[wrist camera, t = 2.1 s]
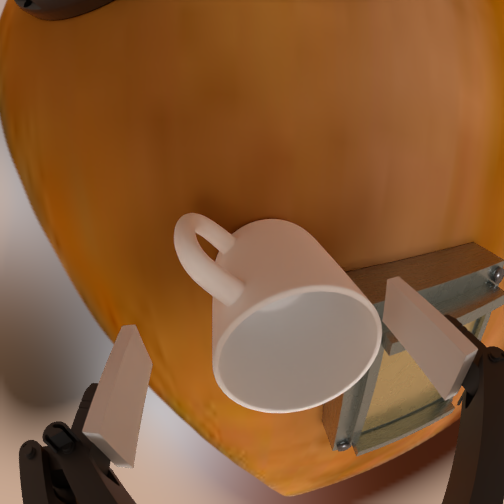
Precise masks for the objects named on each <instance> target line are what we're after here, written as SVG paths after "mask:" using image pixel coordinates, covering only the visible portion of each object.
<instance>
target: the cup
mask: <svg viewBox="0 0 504 504" xmlns="http://www.w3.org/2000/svg"><path fill="white" fill-rule="evenodd" d="M196 233H197V234H199V235H201V236H202V237H204V238H205V239H206V240H207V241H209V242H210V243H211V244H212V245H213V246H214V247H216V248H217V249H218V250H219V252H218V255H217V257H216V260H215V261H213V260H212V259H211V258H210V257H209V256H208V255H207V254H206V253H205V252H204V251H203V249H202V248H201V246H200V245H199V243H198V241H197V238H196ZM174 245H175V250H176V253H177V255H178V258H179V260H180V262H181V264H182V266H183V268H184V269H185V271H186V272H187V273H188V274H189V276H190V277H191V278H192V279H193V280H194V281H195V282H196V283H197V284H198V285H199V286H201V287H202V288H203V289H204V290H205V291H207V292H208V293H209V294H211V295H212V296H213V304H212V363H213V373H214V377H215V379H216V382H217V383H218V385H219V387H220V388H221V390H222V391H223V392H224V393H225V394H226V395H227V396H228V397H229V398H230V399H232V400H233V401H235V402H236V403H238V404H240V405H242V406H244V407H246V408H249V409H252V410H256V411H261V412H267V413H289V412H297V411H302V410H306V409H310V408H313V407H316V406H319V405H321V404H324V403H326V402H328V401H330V400H332V399H334V398H336V397H338V396H339V395H341V394H342V393H344V392H345V391H347V390H348V389H349V388H351V387H352V386H353V385H354V384H355V383H357V382H358V381H359V380H360V379H361V378H362V377H363V375H364V374H365V373H366V372H367V371H368V369H369V368H370V366H371V365H372V363H373V362H374V360H375V358H376V356H377V354H378V351H379V348H380V344H381V339H382V324H381V320H380V317H379V314H378V312H377V310H376V309H375V307H374V306H373V304H372V303H371V302H370V301H369V300H368V298H367V297H366V296H365V295H364V294H363V293H362V291H361V290H360V289H359V288H358V287H357V286H356V284H355V283H354V282H353V281H352V280H351V279H350V277H349V276H348V275H347V274H346V273H345V272H344V271H343V269H342V268H341V267H340V266H339V265H338V264H337V263H336V262H335V260H334V259H333V258H332V257H331V256H330V255H329V254H328V253H327V251H326V250H325V249H324V248H323V247H322V246H321V245H320V244H319V243H318V242H317V240H316V239H315V238H314V237H313V236H312V235H311V234H309V233H308V232H307V231H306V230H305V229H303V228H302V227H300V226H298V225H296V224H294V223H292V222H289V221H285V220H280V219H264V220H258V221H255V222H252V223H249V224H247V225H245V226H243V227H241V228H240V229H238V230H237V231H235V232H234V233H233V234H232V235H231V234H230V233H229V232H227V231H226V230H225V229H224V228H222V227H221V226H220V225H218V224H217V223H215V222H214V221H212V220H211V219H209V218H207V217H205V216H203V215H201V214H197V213H188V214H185V215H183V216H182V217H181V218H180V219H179V220H178V222H177V224H176V226H175V230H174Z"/></svg>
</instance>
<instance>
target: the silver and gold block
mask: <svg viewBox="0 0 504 504" xmlns="http://www.w3.org/2000/svg"><path fill="white" fill-rule="evenodd" d="M503 265H504V260H503V259H501V258H500V257H498V256H496V255H495V254H493V253H492V252H490V251H488V250H486V249H485V248H483V247H481V246H480V245H478V244H476V243H474V242H472V243H468V244H464V245H460V246H457V247H453V248H449V249H445V250H441V251H437V252H433V253H428V254H424V255H420V256H416V257H412V258H407V259H403V260H399V261H394V262H390V263H385V264H381V265H376V266H372V267H367V268H362V269H358V270H353V271H348V272H345V273H346V274H347V275H348V276H349V277H350V279H351V280H352V281H353V282H354V283H355V284H356V286H357V287H358V288H359V289H360V290H361V291H362V293H363V294H364V295H365V296H366V297H367V298H368V300H369V301H370V302H371V303H372V304H373V306H374V307H375V309H376V310H377V312H378V314H379V317H380V320H381V324H382V339H381V344H380V348H379V351H378V354H377V356H376V358H375V360H374V362H373V363H372V365H371V366H370V368H369V369H368V371H367V372H366V373H365V374H364V375H363V377H362V378H361V379H360V380H359V381H358V382H357V383H355V384H354V385H353V386H352V387H351V388H349V389H348V390H347V391H345V392H344V393H342V394H341V395H339V396H338V397H336V398H334V399H332V400H330V401H328V402H326V403H324V407H323V417H322V422H323V425H324V428H325V431H326V433H327V436H328V439H329V442H330V445H331V448H332V450H333V451H334V450H338V451H344V450H347V449H348V448H350V447H351V445H352V446H353V449H354V451H355V454H356V456H359V455H362V454H365V453H367V452H370V451H373V450H375V449H378V448H380V447H383V446H385V445H388V444H390V443H393V442H395V441H397V440H400V439H402V438H404V437H406V436H408V435H411V434H413V433H415V432H417V431H419V430H421V429H423V428H425V427H427V426H429V425H431V424H433V423H434V422H436V421H438V420H440V419H442V418H444V417H445V416H447V415H449V414H450V413H452V412H453V410H454V408H455V407H454V406H453V404H452V403H451V402H452V398H453V397H451V398H449V399H447V400H446V401H445V400H444V399H443V398H442V396H441V395H440V393H439V392H438V391H437V389H436V388H435V387H434V385H433V384H432V383H431V381H430V380H429V379H428V378H427V376H426V375H425V374H424V372H423V371H422V370H421V368H420V367H419V366H418V365H417V363H416V362H415V361H414V359H413V358H412V357H411V356H410V354H409V353H408V352H407V351H406V349H405V348H404V347H403V346H402V344H401V343H400V342H399V341H398V339H397V338H396V337H395V336H394V334H393V333H392V332H391V331H390V330H389V328H388V327H387V326H386V325H385V324H384V322H383V321H382V319H383V312H384V304H385V296H386V286H387V279H390V278H394V277H397V276H399V277H400V278H401V279H403V280H404V281H405V282H406V283H407V284H408V285H410V286H411V287H412V288H413V289H414V290H415V291H417V292H418V293H419V294H420V295H421V296H422V297H423V298H425V299H426V300H427V301H428V302H429V303H430V304H431V305H432V306H433V307H435V308H436V309H437V310H438V311H439V312H440V313H441V314H442V315H443V316H444V315H447V314H448V315H450V316H452V317H454V318H456V319H457V320H458V321H459V322H460V323H461V324H462V325H463V326H465V327H466V328H467V329H468V331H470V332H471V333H472V334H473V335H474V336H475V337H476V338H477V339H478V340H479V341H481V338H482V336H483V333H484V331H485V328H486V325H487V323H488V320H489V317H490V314H491V311H493V310H495V309H496V308H498V307H500V306H502V305H503V304H504V291H503V290H502V289H500V288H499V287H498V285H499V283H500V282H501V281H502V279H503V277H504V269H503Z"/></svg>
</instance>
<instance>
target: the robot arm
mask: <svg viewBox="0 0 504 504" xmlns="http://www.w3.org/2000/svg"><path fill="white" fill-rule="evenodd" d="M111 1H113V0H15V2H16V4H17V5H18V6H19V7H20V8H21V9H22V10H24V11H26V12H27V13H29V14H31V15H33V16H35V17H37V18H40V19H44V20H60V19H66V18H70V17H74V16H77V15H80V14H83V13H86V12H89V11H91V10H94V9H96V8H98V7H101V6H103V5H105V4H107V3H109V2H111ZM382 321H383V322H384V324H385V325H386V326H387V327H388V328H389V330H390V331H391V332H392V333H393V334H394V336H395V337H396V338H397V339H398V341H399V342H400V343H401V344H402V346H403V347H404V348H405V349H406V351H407V352H408V353H409V354H410V356H411V357H412V358H413V359H414V361H415V362H416V363H417V365H418V366H419V367H420V368H421V370H422V371H423V372H424V374H425V375H426V376H427V378H428V379H429V380H430V381H431V383H432V384H433V385H434V387H435V388H436V389H437V391H438V392H439V393H440V395H441V396H442V398H443V399H444V400H445V401H446V400H447V399H449V398H451V397H453V396H454V395H456V394H457V393H458V391H459V389H460V387H461V385H462V386H463V387H464V388H465V390H464V392H463V394H462V396H461V398H460V399H459V401H458V404H457V405H460V403H461V401H462V410H461V420H460V427H459V434H458V440H457V446H456V451H455V456H454V461H453V465H452V470H451V474H450V478H449V482H448V485H447V489H446V492H445V496H444V499H443V502H442V504H503V499H504V351H503V350H501V349H500V348H498V347H494V346H492V347H486V346H485V345H484V344H483V343H482V342H480V341H479V340H478V339H477V338H476V337H475V336H474V335H473V334H472V333H471V332H470V331H468V329H467V328H466V327H465V326H463V325H462V324H461V323H460V322H459V321H458V320H457V319H456V318H454V317H452V316H450V315H448V314H447V315H444V316H443V315H442V314H441V313H440V312H439V311H438V310H437V309H436V308H435V307H433V306H432V305H431V304H430V303H429V302H428V301H427V300H426V299H425V298H423V297H422V296H421V295H420V294H419V293H418V292H417V291H415V290H414V289H413V288H412V287H411V286H410V285H408V284H407V283H406V282H405V281H404V280H403V279H401V278H400V277H399V276H397V277H394V278H390V279H387V286H386V296H385V304H384V312H383V319H382ZM152 365H153V364H152V361H151V359H150V357H149V355H148V353H147V351H146V348H145V346H144V344H143V342H142V339H141V337H140V335H139V332H138V330H137V327H136V325H126V326H122V327H121V330H120V332H119V334H118V337H117V339H116V341H115V344H114V346H113V349H112V351H111V353H110V356H109V358H108V361H107V363H106V366H105V368H104V371H103V373H102V376H101V378H100V381H99V383H92V384H91V385H90V386H89V387H88V388H87V389H86V391H85V393H84V395H83V398H82V402H81V403H80V405H79V409H78V411H77V413H76V416H75V419H74V422H73V425H72V428H71V429H70V428H69V427H68V426H67V425H66V424H65V423H63V422H54V423H51V424H50V425H48V426H47V427H46V429H45V430H44V433H43V441H44V442H45V443H46V444H47V445H48V446H45V447H42V446H41V445H40V444H39V443H38V442H37V441H34V440H28V441H26V442H25V443H24V444H23V445H22V446H21V448H20V451H19V466H20V480H21V490H22V497H23V504H136V503H135V501H134V500H133V499H132V498H131V496H130V495H129V493H128V492H127V491H126V489H125V488H124V487H123V485H122V484H121V482H120V481H119V479H118V478H117V476H116V475H115V474H114V472H113V470H112V469H111V468H110V467H109V466H110V461H112V462H113V463H114V464H115V465H116V466H117V467H125V468H133V467H134V460H135V453H136V447H137V441H138V435H139V429H140V423H141V418H142V413H143V407H144V403H145V398H146V392H147V388H148V383H149V378H150V374H151V369H152Z"/></svg>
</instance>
